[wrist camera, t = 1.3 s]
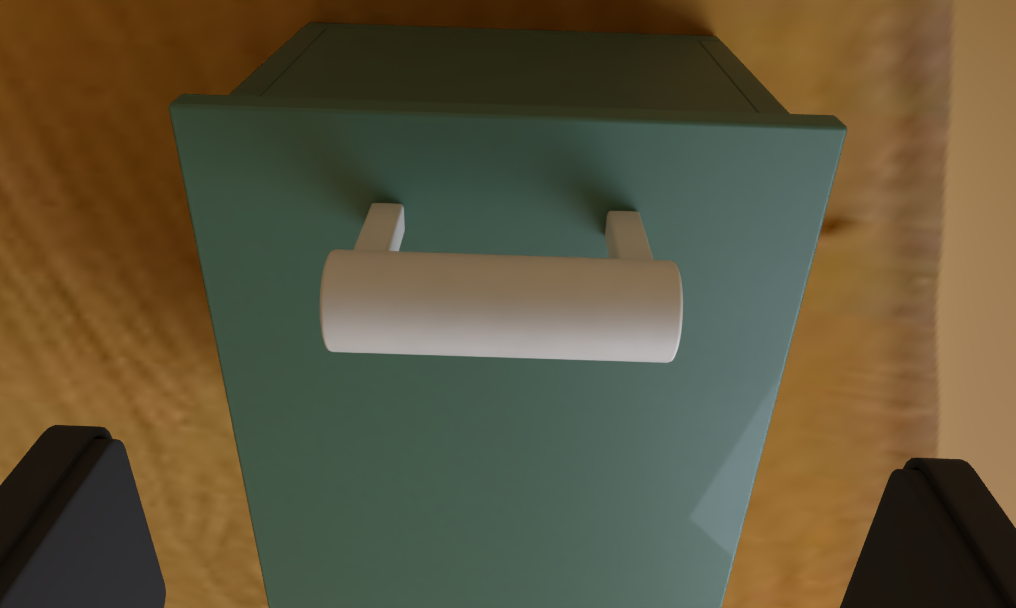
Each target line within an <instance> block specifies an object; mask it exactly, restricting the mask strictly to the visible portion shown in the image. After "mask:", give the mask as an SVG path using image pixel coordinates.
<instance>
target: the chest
mask: <svg viewBox="0 0 1016 608" xmlns="http://www.w3.org/2000/svg"><path fill="white" fill-rule="evenodd" d="M229 95H230V96H261V97H291V98H321V99H351V100H381V101H411V102H442V103H472V104H502V105H532V106H562V107H592V108H623V109H653V110H683V111H713V112H743V113H774V114H790V113H789V112H788V111H787V110H786V109H785V108H784V107H783V106H782V105H781V104H780V103H779V102H778V101H777V100H776V99H775V97H774V96H773V95H772V94H771V93H770V92H769V91H768V90H767V89H766V88H765V87H764V86H763V85H762V84H761V83H760V82H759V80H758V79H757V78H756V77H755V76H754V75H753V74H752V73H751V72H750V71H749V70H748V69H747V68H746V67H745V66H744V64H743V63H742V62H741V61H740V60H739V59H738V58H737V57H736V56H735V55H734V54H733V53H732V52H731V51H730V50H729V49H728V47H727V46H726V45H725V44H724V43H723V42H721V41H720V39H719V38H718V37H716V36H697V35H667V34H637V33H607V32H577V31H547V30H517V29H487V28H457V27H427V26H397V25H367V24H337V23H308V24H307V25H305V26H304V27H303V28H302V29H300V30H299V31H298V32H297V33H296V34H295V35H294V36H293V37H292V38H291V39H289V40H288V41H287V42H286V43H285V44H284V45H283V46H282V47H281V48H280V49H278V50H277V51H276V52H275V53H274V54H273V55H272V56H271V57H270V58H269V59H267V60H266V61H265V62H264V63H263V64H262V65H261V66H260V67H259V68H258V69H256V70H255V71H254V72H253V73H252V74H251V75H250V76H249V77H248V78H247V79H245V80H244V81H243V82H242V83H241V84H240V85H239V86H238V87H237V88H236V89H234V90H233V91H232V92H231V93H230V94H229Z"/></svg>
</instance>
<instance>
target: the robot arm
mask: <svg viewBox="0 0 1016 608" xmlns="http://www.w3.org/2000/svg"><path fill="white" fill-rule="evenodd" d="M165 597H166V589H165V583H164V580H163V576H162V573H161V570H160V566H159V563H158V559H157V556H156V552H155V549H154V546H153V542H152V539H151V535H150V532H149V528H148V525H147V521H146V518H145V515H144V511H143V508H142V504H141V501H140V497H139V494H138V490H137V487H136V484H135V480H134V477H133V473H132V470H131V466H130V463H129V459H128V456H127V453H126V449H125V447H124V444H123V443H122V442H121V441H120V440H116V439H112V437H111V434H110V432H109V431H108V430H107V429H106V428H104V427H94V426H67V425H54V426H52V427H49V428H48V429H47V430H46V431H45V432H44V433H43V434H42V435H41V436H40V437H39V439H38V440H37V441H36V442H35V443H34V445H33V446H32V447H31V448H30V450H29V451H28V452H27V453H26V455H25V456H24V457H23V458H22V460H21V461H20V462H19V463H18V464H17V466H16V467H15V468H14V469H13V471H12V472H11V473H10V474H9V476H8V477H7V478H6V479H5V480H4V482H3V483H2V484H1V485H0V608H164V604H165ZM840 608H1016V528H1015V527H1014V526H1013V524H1012V523H1011V521H1010V520H1009V518H1008V517H1007V515H1006V514H1005V513H1004V511H1003V510H1002V508H1001V507H1000V506H999V504H998V503H997V501H996V500H995V498H994V497H993V496H992V494H991V493H990V491H989V490H988V489H987V487H986V486H985V484H984V483H983V482H982V480H981V479H980V477H979V476H978V474H977V473H976V471H975V470H974V469H973V468H972V467H971V465H970V464H969V463H968V462H966V461H963V460H960V459H937V458H911V459H910V460H909V461H907V462H906V464H905V466H904V468H903V469H896V470H894V471H893V472H892V473H891V475H890V477H889V480H888V482H887V485H886V488H885V490H884V493H883V495H882V498H881V501H880V503H879V506H878V509H877V511H876V514H875V517H874V519H873V522H872V524H871V527H870V530H869V532H868V535H867V538H866V540H865V543H864V546H863V548H862V551H861V553H860V556H859V559H858V561H857V564H856V567H855V569H854V572H853V575H852V577H851V580H850V582H849V585H848V588H847V590H846V593H845V596H844V598H843V601H842V604H841V606H840Z"/></svg>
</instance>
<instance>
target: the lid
mask: <svg viewBox="0 0 1016 608" xmlns="http://www.w3.org/2000/svg"><path fill="white" fill-rule="evenodd" d="M169 112H170V117H171V122H172V127H173V132H174V137H175V142H176V147H177V152H178V157H179V162H180V167H181V172H182V177H183V182H184V187H185V192H186V196H187V201H188V206H189V211H190V216H191V221H192V226H193V231H194V236H195V241H196V246H197V251H198V256H199V261H200V266H201V271H202V276H203V281H204V286H205V291H206V296H207V301H208V306H209V311H210V316H211V321H212V326H213V331H214V336H215V341H216V346H217V351H218V356H219V361H220V366H221V371H222V376H223V381H224V386H225V391H226V396H227V401H228V406H229V411H230V416H231V421H232V426H233V431H234V436H235V441H236V446H237V451H238V456H239V461H240V466H241V471H242V476H243V481H244V486H245V491H246V496H247V501H248V506H249V511H250V516H251V521H252V526H253V531H254V536H255V541H256V546H257V551H258V556H259V561H260V566H261V571H262V576H263V581H264V586H265V591H266V596H267V601H268V606H269V608H722V604H723V600H724V596H725V592H726V589H727V585H728V581H729V577H730V573H731V570H732V566H733V562H734V558H735V554H736V551H737V547H738V543H739V539H740V535H741V532H742V528H743V524H744V520H745V516H746V512H747V509H748V505H749V501H750V497H751V493H752V490H753V486H754V482H755V478H756V474H757V471H758V467H759V463H760V459H761V455H762V452H763V448H764V444H765V440H766V436H767V433H768V429H769V425H770V421H771V417H772V414H773V410H774V406H775V402H776V398H777V395H778V391H779V387H780V383H781V379H782V376H783V372H784V368H785V364H786V360H787V357H788V353H789V349H790V345H791V341H792V338H793V334H794V330H795V326H796V322H797V319H798V315H799V311H800V307H801V303H802V300H803V296H804V292H805V288H806V284H807V281H808V277H809V273H810V269H811V265H812V262H813V258H814V254H815V250H816V246H817V243H818V239H819V235H820V231H821V227H822V224H823V220H824V216H825V212H826V208H827V205H828V201H829V197H830V193H831V189H832V186H833V182H834V178H835V174H836V170H837V167H838V163H839V159H840V155H841V151H842V148H843V144H844V140H845V136H846V132H847V126H845V125H844V124H843V123H842V122H841V121H840V120H839V119H838V118H837V117H835V116H833V115H804V114H774V113H743V112H713V111H683V110H653V109H623V108H592V107H562V106H532V105H502V104H472V103H442V102H411V101H381V100H351V99H321V98H291V97H261V96H230V95H200V94H183V95H180V96H179V97H178V98H177V99H175V100H174V101H173V102H172V103H170V104H169Z"/></svg>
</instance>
